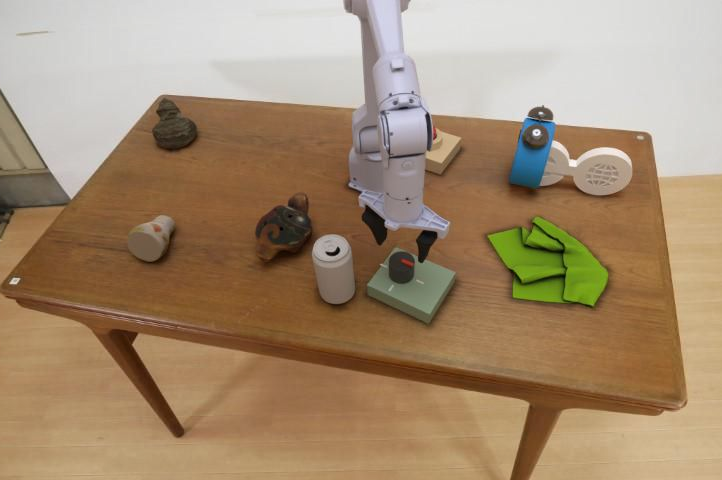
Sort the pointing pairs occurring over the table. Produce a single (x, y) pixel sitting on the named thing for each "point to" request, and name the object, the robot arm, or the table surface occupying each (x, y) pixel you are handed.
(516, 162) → the alarm clock
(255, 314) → the table surface
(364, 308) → the table surface
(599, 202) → the table surface
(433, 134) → the button
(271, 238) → the decorative turtle
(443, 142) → the button housing
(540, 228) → the cloth
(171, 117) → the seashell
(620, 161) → the white double disc plate
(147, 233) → the beige ceramic vase
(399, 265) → the dial
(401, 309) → the dial panel
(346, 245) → the beverage can
